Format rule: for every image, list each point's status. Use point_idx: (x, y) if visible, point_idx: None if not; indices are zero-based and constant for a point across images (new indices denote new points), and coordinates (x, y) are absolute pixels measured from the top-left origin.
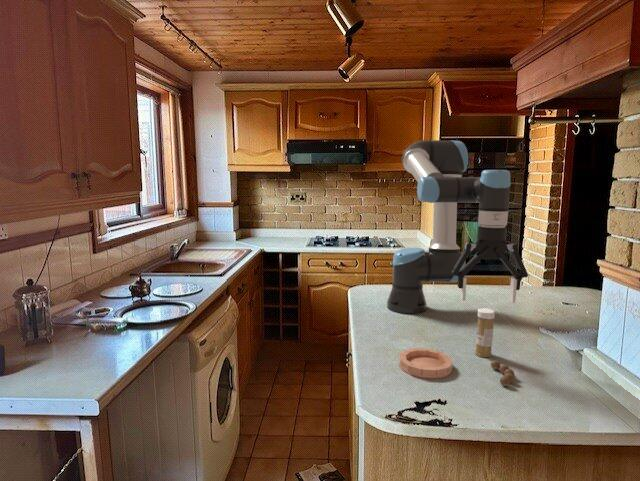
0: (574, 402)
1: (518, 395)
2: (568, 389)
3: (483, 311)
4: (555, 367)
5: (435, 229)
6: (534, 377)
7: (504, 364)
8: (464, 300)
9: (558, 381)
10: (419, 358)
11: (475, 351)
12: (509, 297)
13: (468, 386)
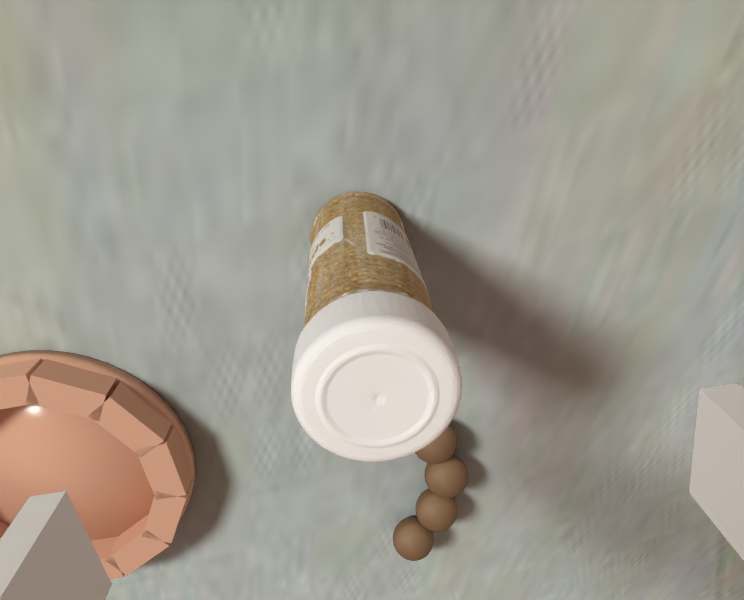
0: (625, 558)
1: (445, 567)
2: (653, 483)
3: (343, 440)
4: (708, 296)
5: None
6: (557, 425)
7: (437, 450)
8: (100, 585)
9: (647, 432)
10: (14, 426)
11: (311, 243)
12: (720, 408)
13: (270, 560)
